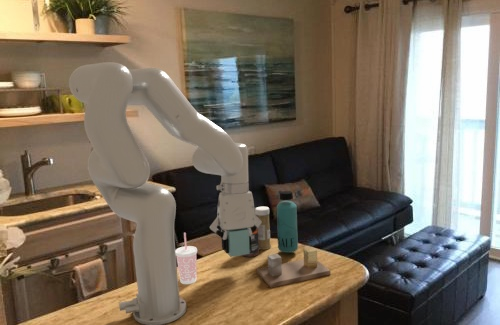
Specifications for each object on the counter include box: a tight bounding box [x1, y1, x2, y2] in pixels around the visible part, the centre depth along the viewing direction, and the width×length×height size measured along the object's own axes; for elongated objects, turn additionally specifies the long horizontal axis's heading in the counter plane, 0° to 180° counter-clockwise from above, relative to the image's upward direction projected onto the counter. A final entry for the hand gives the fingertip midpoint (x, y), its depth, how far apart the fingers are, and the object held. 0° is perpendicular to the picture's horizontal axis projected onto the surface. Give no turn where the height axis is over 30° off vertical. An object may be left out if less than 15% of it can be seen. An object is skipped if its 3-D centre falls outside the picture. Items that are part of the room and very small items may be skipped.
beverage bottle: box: [276, 190, 299, 253], centre depth 137 cm, size 6×7×20 cm
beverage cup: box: [175, 232, 198, 285], centre depth 122 cm, size 6×6×14 cm
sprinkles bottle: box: [254, 206, 272, 251], centre depth 143 cm, size 5×5×13 cm
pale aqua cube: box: [226, 228, 249, 258], centre depth 125 cm, size 6×6×7 cm
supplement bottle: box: [242, 227, 260, 258], centre depth 139 cm, size 6×6×11 cm
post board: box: [256, 253, 331, 288], centre depth 124 cm, size 18×10×6 cm, turn 110°
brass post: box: [303, 246, 318, 269], centre depth 125 cm, size 3×3×5 cm
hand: (236, 249), depth 125 cm, fingers closed on pale aqua cube, 5 cm apart
